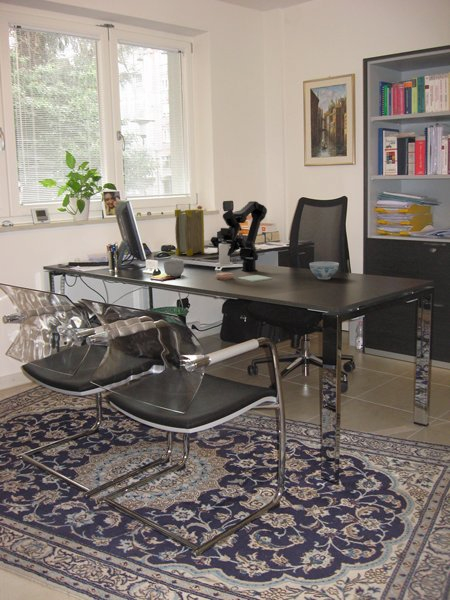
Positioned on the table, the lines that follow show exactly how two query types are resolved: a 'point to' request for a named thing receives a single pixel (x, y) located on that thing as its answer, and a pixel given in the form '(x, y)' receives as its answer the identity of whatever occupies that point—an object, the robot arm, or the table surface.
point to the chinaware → (324, 269)
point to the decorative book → (189, 231)
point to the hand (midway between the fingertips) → (223, 255)
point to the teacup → (174, 267)
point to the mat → (254, 278)
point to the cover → (224, 254)
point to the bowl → (224, 276)
